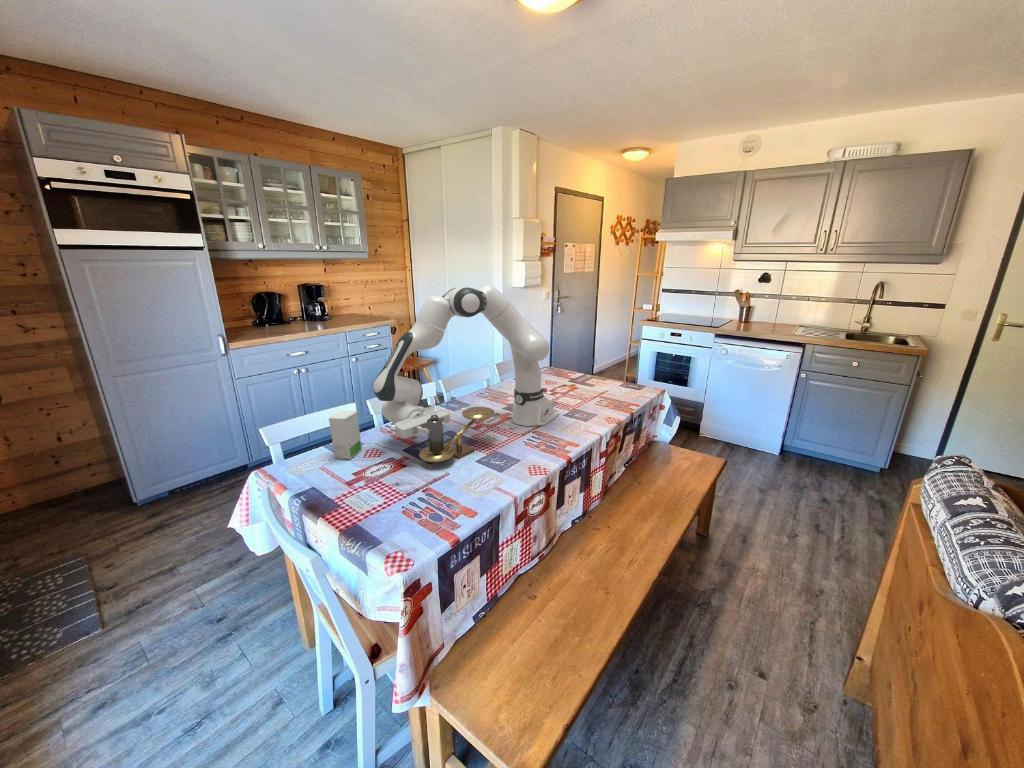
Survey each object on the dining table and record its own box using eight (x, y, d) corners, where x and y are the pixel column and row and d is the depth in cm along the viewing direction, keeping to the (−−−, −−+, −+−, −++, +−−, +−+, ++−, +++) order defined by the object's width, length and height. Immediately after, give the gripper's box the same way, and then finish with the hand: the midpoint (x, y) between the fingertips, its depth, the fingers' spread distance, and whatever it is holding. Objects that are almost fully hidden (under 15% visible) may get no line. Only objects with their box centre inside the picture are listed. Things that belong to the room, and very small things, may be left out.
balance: (480, 433, 165) (479, 404, 161) (501, 442, 157) (500, 411, 153) (412, 462, 142) (409, 429, 138) (434, 474, 134) (431, 439, 131)
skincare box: (350, 460, 144) (344, 419, 139) (333, 458, 145) (327, 417, 141) (362, 449, 152) (357, 410, 147) (346, 448, 153) (341, 409, 149)
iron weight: (437, 445, 145) (435, 412, 141) (446, 449, 141) (444, 415, 138) (426, 449, 141) (423, 416, 137) (435, 454, 138) (432, 420, 134)
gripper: (386, 419, 139) (409, 430, 130) (435, 403, 153) (459, 412, 144) (388, 436, 141) (411, 448, 132) (436, 419, 155) (459, 428, 146)
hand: (436, 429), depth 138 cm, fingers closed on iron weight, 5 cm apart
